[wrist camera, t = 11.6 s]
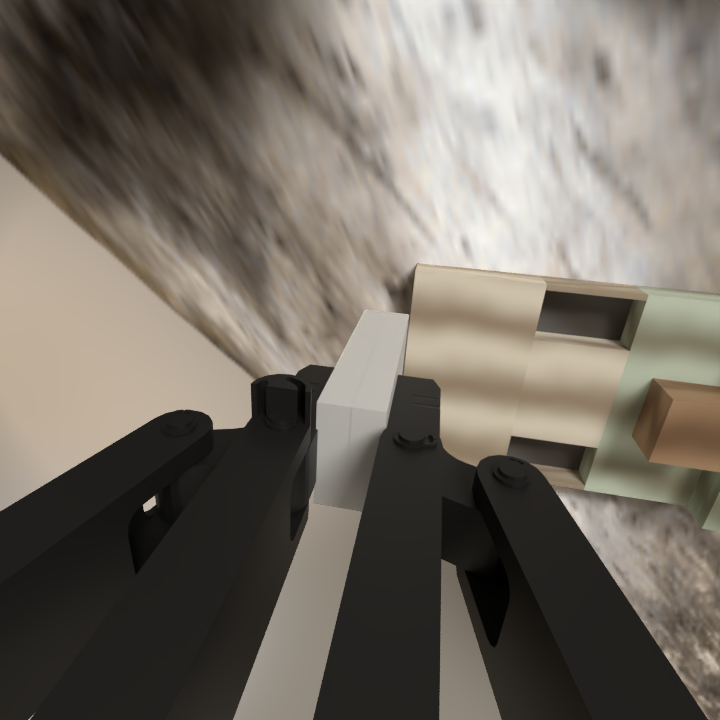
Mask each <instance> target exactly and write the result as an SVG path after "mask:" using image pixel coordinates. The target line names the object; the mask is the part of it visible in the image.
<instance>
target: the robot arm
mask: <svg viewBox="0 0 720 720" xmlns="http://www.w3.org/2000/svg"><path fill="white" fill-rule="evenodd" d="M408 320H409V314H402V313H393V312H384V311H376V310H367V309H365V310H364V312H363V314H362V316H361V318H360V320H359V322H358V324H357V326H356V328H355V330H354V332H353V333H352V335H351V337H350V339H349V341H348V343H347V345H346V347H345V349H344V351H343V353H342V355H341V357H340V358H339V360H338V362H337V364H336V366H335V368H333V367H325V366H318V365H309V366H307V367H305V368H303V369H302V370H300V371H298V373H297V374H296V376H294V375H288V374H275V375H268V376H264V377H261V378H259V379H257V380H255V381H254V382H253V383H251V402H252V418H251V419H250V421H249V422H248V423H247V425H246V426H245V427H244V428H237V429H219V430H213V422H212V420H211V418H210V417H209V416H208V415H206V414H204V413H202V412H198V411H193V410H177V411H174V412H169V413H165V414H163V415H161V416H159V417H157V418H155V419H153V420H151V421H150V422H148V423H146V424H145V425H143V426H141V427H140V428H138V429H137V430H135V431H133V432H131V433H130V434H128V435H126V436H125V437H124V438H121V439H120V440H118V441H116V442H115V443H113V444H112V445H110V446H108V447H106V448H105V449H103V450H102V451H100V452H98V453H97V454H95V455H93V456H92V457H90V458H88V459H87V460H85V461H83V462H82V463H80V464H78V465H77V466H75V467H73V468H72V469H70V470H68V471H67V472H65V473H63V474H62V475H60V476H58V477H57V478H55V479H53V480H52V481H50V482H49V483H47V484H45V485H44V486H42V487H40V488H39V489H37V490H35V491H34V492H32V493H30V494H29V495H27V496H25V497H24V498H22V499H20V500H19V501H17V502H15V503H14V504H12V505H11V506H9V507H7V508H5V509H4V510H2V511H0V720H28V719H29V718H30V717H31V716H32V715H33V714H34V713H35V714H34V715H33V717H32V718H31V719H30V720H233V718H234V715H235V713H236V710H237V707H238V704H239V701H240V699H241V696H242V694H243V691H244V689H245V686H246V683H247V680H248V678H249V675H250V672H251V670H252V667H253V664H254V662H255V659H256V656H257V653H258V651H259V648H260V646H261V643H262V640H263V638H264V635H265V632H266V630H267V627H268V624H269V621H270V619H271V616H272V614H273V611H274V608H275V606H276V603H277V600H278V597H279V595H280V592H281V589H282V587H283V584H284V581H285V579H286V576H287V573H288V571H289V568H290V565H291V563H292V560H293V557H294V555H295V552H296V549H297V546H298V544H299V541H300V539H301V536H302V533H303V531H304V528H305V525H306V522H307V520H308V510H309V498H310V496H311V493H312V491H313V488H314V503H316V504H321V505H327V506H333V507H339V508H345V509H351V510H357V511H362V515H361V520H360V524H359V528H358V532H357V537H356V541H355V545H354V549H353V553H352V558H351V562H350V566H349V570H348V574H347V578H346V583H345V587H344V591H343V596H342V600H341V604H340V608H339V613H338V617H337V621H336V625H335V629H334V634H333V638H332V642H331V646H330V650H329V655H328V659H327V663H326V667H325V671H324V676H323V680H322V684H321V688H320V693H319V697H318V701H317V706H316V710H315V714H314V718H313V720H439V692H440V691H439V689H440V615H441V613H440V612H441V607H440V606H441V559H443V560H445V561H447V562H449V563H452V564H454V565H456V570H457V577H458V580H459V583H460V587H461V590H462V593H463V596H464V599H465V603H466V606H467V609H468V612H469V615H470V618H471V622H472V625H473V628H474V632H475V634H476V638H477V641H478V644H479V648H480V651H481V654H482V657H483V660H484V664H485V667H486V670H487V673H488V676H489V680H490V683H491V686H492V689H493V693H494V696H495V699H496V702H497V705H498V709H499V712H500V715H501V718H502V720H708V719H707V717H706V716H705V714H704V713H703V711H702V710H701V708H700V707H699V705H698V704H697V703H696V701H695V700H694V698H693V697H692V695H691V694H690V692H689V691H688V689H687V688H686V686H685V685H684V683H683V682H682V680H681V679H680V677H679V676H678V674H677V673H676V671H675V670H674V668H673V667H672V665H671V664H670V662H669V661H668V659H667V658H666V656H665V655H664V653H663V652H662V650H661V649H660V647H659V646H658V644H657V643H656V641H655V640H654V638H653V637H652V635H651V634H650V632H649V631H648V629H647V628H646V626H645V625H644V623H643V622H642V621H641V619H640V618H639V616H638V615H637V613H636V612H635V610H634V609H633V607H632V606H631V604H630V603H629V601H628V600H627V598H626V597H625V595H624V594H623V592H622V591H621V589H620V588H619V586H618V585H617V583H616V582H615V580H614V579H613V577H612V576H611V574H610V573H609V571H608V570H607V568H606V567H605V565H604V564H603V562H602V561H601V559H600V558H599V556H598V555H597V553H596V552H595V550H594V549H593V547H592V546H591V544H590V543H589V541H588V540H587V538H586V537H585V536H584V534H583V533H582V531H581V530H580V528H579V527H578V525H577V524H576V522H575V521H574V519H573V518H572V516H571V515H570V513H569V512H568V510H567V509H566V507H565V506H564V504H563V503H562V501H561V500H560V498H559V497H558V495H557V494H556V492H555V491H554V489H553V488H552V486H551V485H550V483H549V482H548V480H547V479H546V477H545V476H544V475H543V474H542V473H541V472H540V471H539V470H538V469H537V468H536V467H535V466H533V465H531V464H530V463H528V462H526V461H524V460H522V459H519V458H516V457H513V456H505V455H494V456H488V457H486V458H484V459H482V460H480V462H479V464H478V465H477V467H476V466H473V465H470V464H468V463H465V462H463V461H461V460H458V459H456V458H455V457H453V456H452V455H450V454H449V453H448V452H447V451H446V450H445V449H444V448H443V444H442V441H441V438H440V399H441V389H440V387H439V386H438V385H437V383H436V382H435V381H434V380H433V379H426V378H419V377H411V376H403V375H402V372H403V364H404V355H405V346H406V338H407V329H408ZM153 496H155V498H156V505H155V506H154V507H153V508H151V509H150V510H148V511H146V512H144V510H143V504H144V503H146V502H147V501H148V500H149V499H151V498H152V497H153Z"/></svg>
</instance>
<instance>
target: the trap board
mask: <svg viewBox="0 0 720 720" xmlns="http://www.w3.org/2000/svg"><path fill="white" fill-rule="evenodd" d="M403 376H411V377H419V378H426V379H433V380H434V381H435V382H436V383H437V385H438V386H439V387H440V389H441V399H440V438H441V441H442V444H443V448H444V449H445V450H446V451H447V452H448V453H449V454H450V455H452V456H453V457H455V458H456V459H458V460H461V461H463V462H465V463H468V464H470V465H473V466H476V467H477V465H478V464H479V462H480V460H482V459H484V458H486V457H488V456H494V455H505V456H513V457H516V458H519V459H522V460H524V461H526V462H528V463H530V464H531V465H533V466H535V467H536V468H537V469H538V470H539V471H540V472H541V473H542V474H543V475H544V476H545V477H546V479H547V480H548V482H549V483H550V485H554V486H561V487H567V488H574V489H580V490H587V491H593V492H599V493H606V494H612V495H619V496H625V497H632V498H638V499H644V500H651V501H657V502H664V503H670V504H677V505H683V506H687V508H688V509H689V510H690V512H691V513H692V515H693V516H694V518H695V519H696V521H697V522H698V524H699V525H700V526H701V528H702V529H708V530H714V531H720V472H714V471H707V470H701V469H694V468H687V467H681V466H674V465H667V464H661V463H654V462H649V461H648V460H647V458H646V457H645V455H644V454H643V452H642V451H641V449H640V448H639V446H638V445H637V443H636V442H635V440H634V439H633V437H632V434H633V431H634V428H635V425H636V423H637V420H638V417H639V415H640V412H641V409H642V407H643V404H644V401H645V398H646V396H647V393H648V390H649V388H650V385H651V382H652V380H653V378H657V379H664V380H672V381H680V382H688V383H695V384H703V385H711V386H719V387H720V294H712V293H702V292H692V291H682V290H673V289H663V288H653V287H643V286H633V285H624V284H614V283H604V282H594V281H584V280H575V279H565V278H555V277H545V276H535V275H526V274H516V273H506V272H496V271H487V270H477V269H467V268H457V267H447V266H438V265H428V264H418V263H417V267H416V271H415V279H414V288H413V296H412V305H411V314H410V322H409V331H408V339H407V348H406V356H405V365H404V374H403Z"/></svg>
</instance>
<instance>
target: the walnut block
mask: <svg viewBox="0 0 720 720" xmlns="http://www.w3.org/2000/svg"><path fill="white" fill-rule="evenodd" d="M632 437H633V439H634V440H635V442H636V443H637V445H638V446H639V448H640V449H641V451H642V452H643V454H644V455H645V457H646V458H647V460H648V461H649V462H654V463H661V464H667V465H674V466H681V467H687V468H694V469H701V470H707V471H714V472H720V387H719V386H711V385H703V384H695V383H688V382H680V381H672V380H664V379H657V378H653V380H652V382H651V385H650V388H649V390H648V393H647V396H646V398H645V401H644V404H643V407H642V409H641V412H640V415H639V417H638V420H637V423H636V425H635V428H634V431H633V434H632Z"/></svg>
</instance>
